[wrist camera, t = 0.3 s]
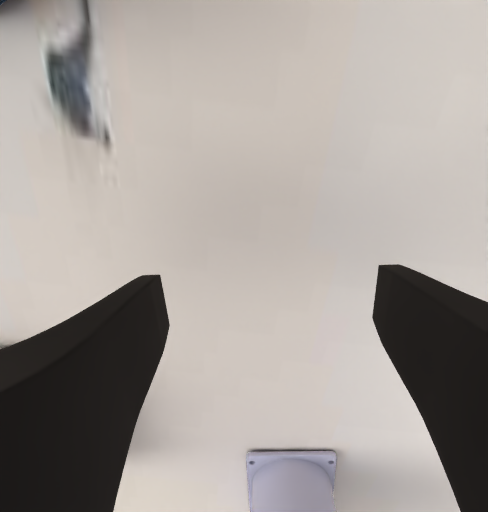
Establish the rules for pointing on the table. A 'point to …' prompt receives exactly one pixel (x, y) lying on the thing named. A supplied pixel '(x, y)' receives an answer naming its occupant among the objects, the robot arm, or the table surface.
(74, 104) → the table surface
